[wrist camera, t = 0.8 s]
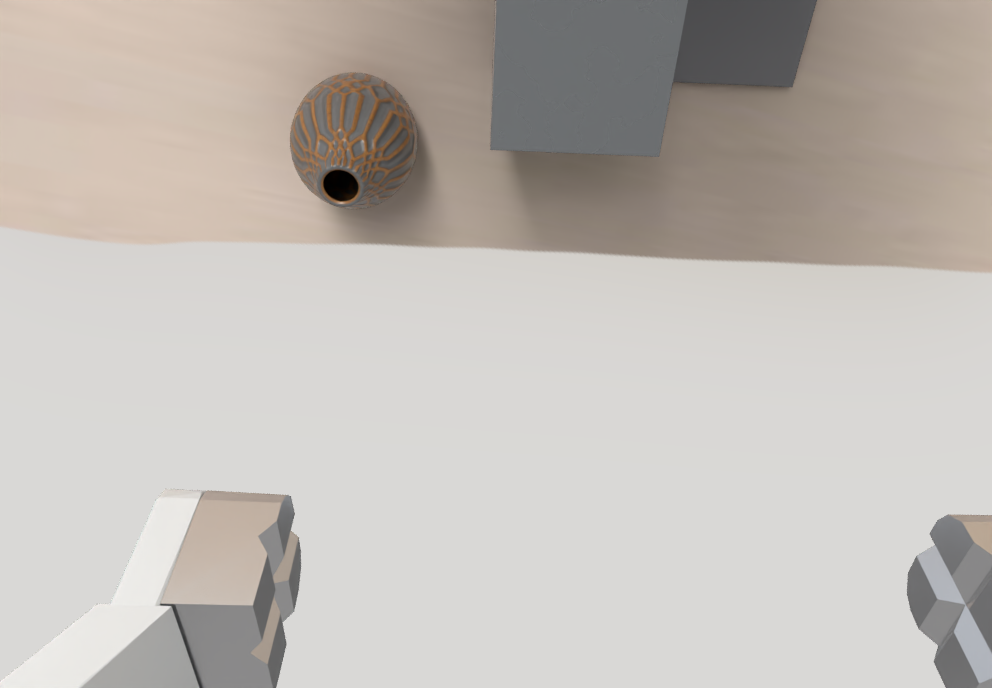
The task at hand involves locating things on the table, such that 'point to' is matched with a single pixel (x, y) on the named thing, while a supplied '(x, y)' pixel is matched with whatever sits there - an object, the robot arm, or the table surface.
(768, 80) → the pad
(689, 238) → the table surface
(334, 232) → the table surface
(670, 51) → the block
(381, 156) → the vase
